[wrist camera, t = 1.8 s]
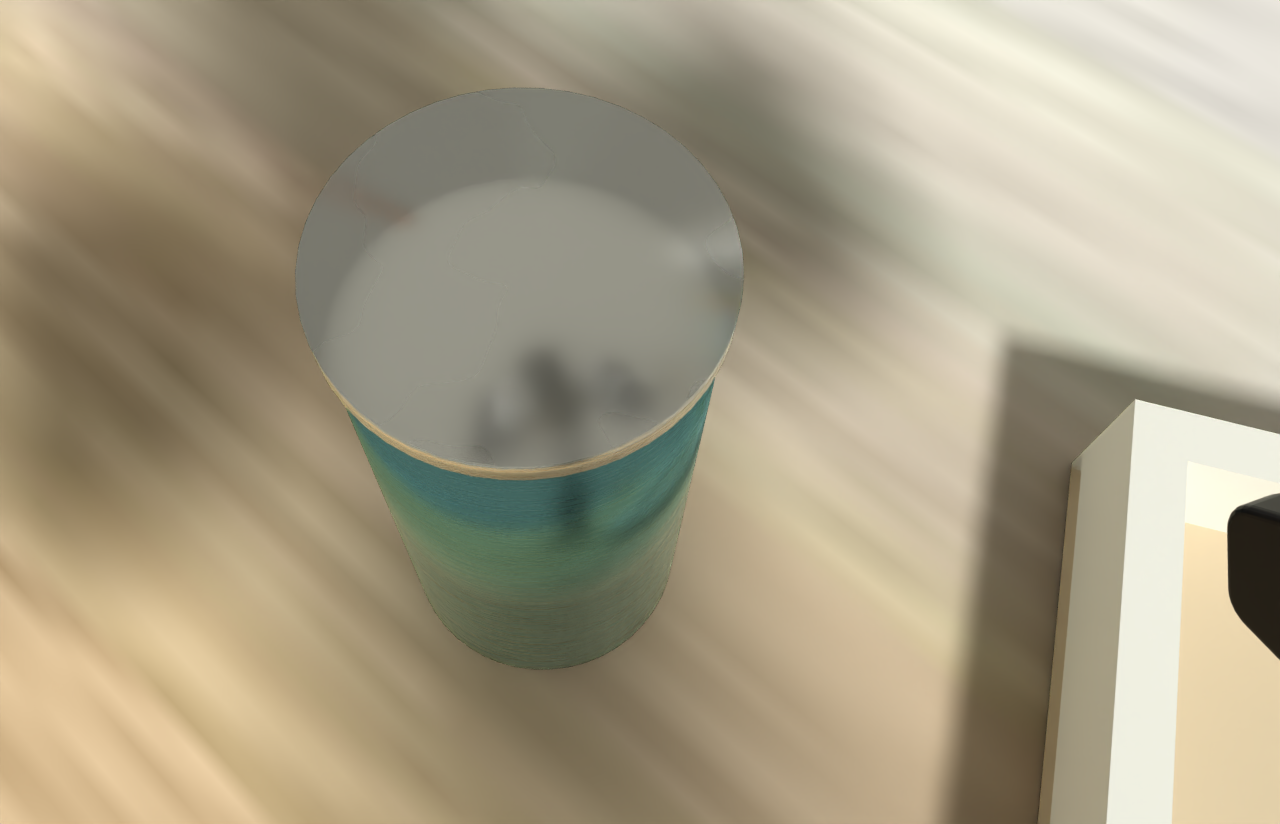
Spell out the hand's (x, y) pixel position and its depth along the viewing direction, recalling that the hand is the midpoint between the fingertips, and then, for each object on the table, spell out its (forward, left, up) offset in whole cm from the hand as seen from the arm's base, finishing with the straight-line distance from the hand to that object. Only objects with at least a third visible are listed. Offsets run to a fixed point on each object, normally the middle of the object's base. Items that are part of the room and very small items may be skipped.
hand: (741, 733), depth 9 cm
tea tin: (+5, +3, -12) cm, 14 cm away
